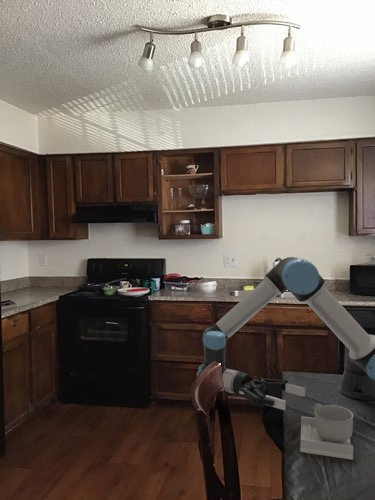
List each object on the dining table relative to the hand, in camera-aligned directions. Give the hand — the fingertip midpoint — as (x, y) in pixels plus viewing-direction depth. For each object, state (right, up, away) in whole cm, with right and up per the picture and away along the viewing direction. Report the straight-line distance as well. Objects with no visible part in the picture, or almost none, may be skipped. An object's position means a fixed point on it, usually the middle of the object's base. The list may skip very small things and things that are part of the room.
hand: (295, 398), depth 132 cm
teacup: (+9, -9, -6) cm, 14 cm away
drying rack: (+7, -11, -6) cm, 14 cm away
